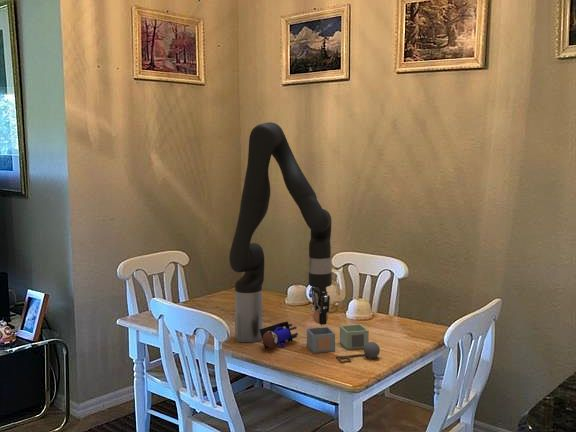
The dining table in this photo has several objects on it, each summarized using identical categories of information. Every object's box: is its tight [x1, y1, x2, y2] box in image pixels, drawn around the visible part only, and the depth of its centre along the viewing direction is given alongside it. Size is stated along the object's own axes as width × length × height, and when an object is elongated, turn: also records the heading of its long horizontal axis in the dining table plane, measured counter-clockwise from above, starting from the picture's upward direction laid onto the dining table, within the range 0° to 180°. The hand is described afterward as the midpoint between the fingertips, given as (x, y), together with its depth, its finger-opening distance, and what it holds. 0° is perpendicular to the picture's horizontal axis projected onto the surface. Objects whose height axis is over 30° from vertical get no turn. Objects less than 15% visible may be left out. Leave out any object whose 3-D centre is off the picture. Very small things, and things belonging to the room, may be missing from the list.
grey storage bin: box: [306, 326, 336, 354], centre depth 198 cm, size 8×8×6 cm
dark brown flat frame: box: [335, 353, 380, 364], centre depth 189 cm, size 13×4×1 cm, turn 103°
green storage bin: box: [339, 323, 370, 351], centre depth 201 cm, size 8×8×6 cm
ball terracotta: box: [312, 309, 329, 325], centre depth 197 cm, size 5×5×5 cm
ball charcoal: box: [363, 341, 381, 358], centre depth 189 cm, size 5×5×5 cm
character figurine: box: [260, 320, 299, 350], centre depth 202 cm, size 8×7×15 cm
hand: (320, 321), depth 198 cm, fingers closed on ball terracotta, 5 cm apart
